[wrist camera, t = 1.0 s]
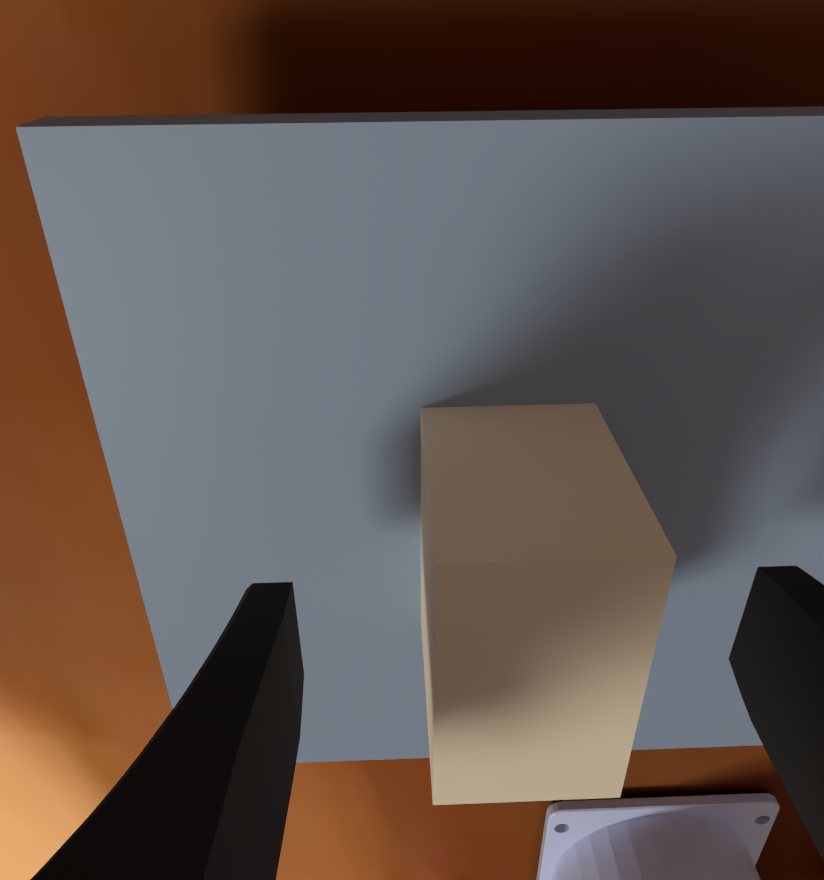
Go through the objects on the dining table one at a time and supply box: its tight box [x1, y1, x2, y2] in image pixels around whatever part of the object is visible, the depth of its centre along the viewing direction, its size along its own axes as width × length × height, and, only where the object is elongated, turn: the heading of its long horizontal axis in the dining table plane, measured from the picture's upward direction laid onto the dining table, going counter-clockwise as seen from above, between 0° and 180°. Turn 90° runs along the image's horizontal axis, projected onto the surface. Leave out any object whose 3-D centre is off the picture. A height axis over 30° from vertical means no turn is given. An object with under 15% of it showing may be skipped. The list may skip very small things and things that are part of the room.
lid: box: [16, 106, 824, 805], centre depth 12 cm, size 14×14×5 cm
